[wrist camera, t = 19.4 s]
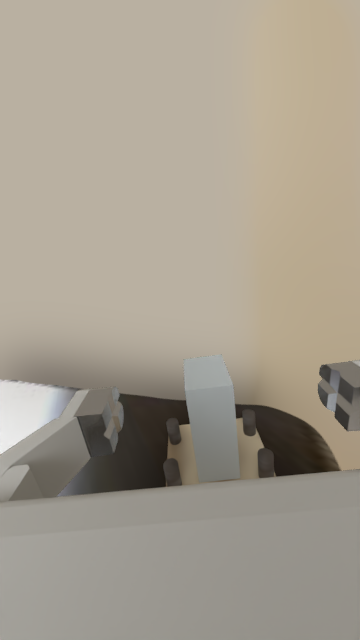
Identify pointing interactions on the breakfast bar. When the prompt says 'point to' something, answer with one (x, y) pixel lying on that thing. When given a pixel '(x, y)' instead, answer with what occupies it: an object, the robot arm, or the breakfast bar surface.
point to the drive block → (212, 418)
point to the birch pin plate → (250, 449)
